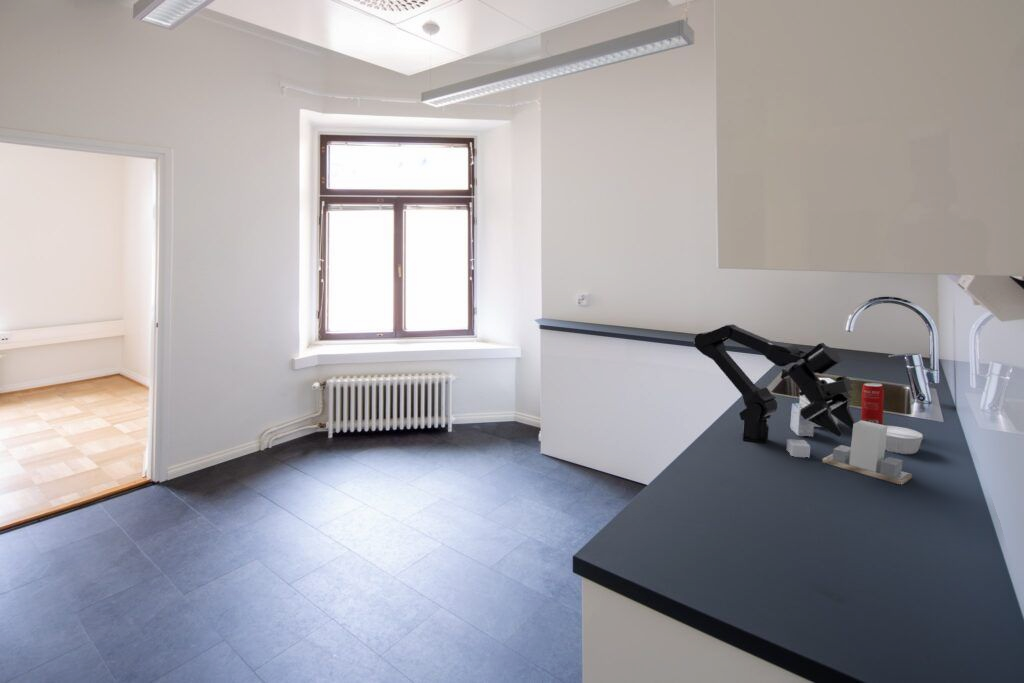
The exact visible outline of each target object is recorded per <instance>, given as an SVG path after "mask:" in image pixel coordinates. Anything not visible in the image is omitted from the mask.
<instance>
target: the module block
mask: <svg viewBox="0 0 1024 683" xmlns="http://www.w3.org/2000/svg"><path fill="white" fill-rule="evenodd" d="M888 426H889V425H886V424H885V425H884V424H883V425H881V424H876V423H871V422H867V421H862V420H861V419H860V420H859V421H857V422H855V423H854V424H853V429H852V434H851V435H852V436H851V442H850V444H851V445H850V447H851V451H850V461H849V464H850V465H854V466H857V467H861V468H865V469H868V470H872V471H875V472H876V471H877V470H879V469H880V468H881V461H883V460H884V458H885V453H886V450H885V444H886V436H887V427H888Z"/></svg>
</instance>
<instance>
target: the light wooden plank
mask: <svg viewBox="0 0 1024 683" xmlns="http://www.w3.org/2000/svg"><path fill="white" fill-rule="evenodd" d="M830 455H831V454H830ZM828 456H829V455H828ZM826 457H827V456H826ZM826 459H827V460H831V461H835V462H838V463H842V464H845V465H849V466H852V467H856V468H860V469H863V470H867V471H870V472H874V473H877V474H881V475H885V476H888V477H892V478H895V479H899V480H901V479H903V478H904V477H905V476H907V475H908V474H909V472H906V471H903V470H901V472H900V473H899V474H897V475H896V476H894V477H893V476H890V475H886V474H883V473H880V469H881V468H880V469H879V470H877V471H876V472H875V471H872V470H868V469H865V468H861V467H857V466H854V465H850V464H849V461H850V460H849V461H847V462H846V463H843V462H840V461H836V460H832V459H833V455H831V456H829V457H827V458H826Z"/></svg>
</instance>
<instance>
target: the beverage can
mask: <svg viewBox="0 0 1024 683" xmlns="http://www.w3.org/2000/svg"><path fill="white" fill-rule="evenodd" d="M861 389H862V390H861V412H860V414H861V415H860V417H861V418H860V421H861V420H862V421H867V422H871V423H876V424H881V425H884V423H883V422H884V397H885V396H884V392H885V389H884V386H883V384H882V383H880V382H879V383H877V382H864V383H863V385H862V387H861Z"/></svg>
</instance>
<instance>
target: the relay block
mask: <svg viewBox="0 0 1024 683" xmlns="http://www.w3.org/2000/svg"><path fill="white" fill-rule="evenodd" d="M787 451H788V452H789V453H790V454H789V453H788V452H787ZM786 452H787V453H788V454H789V455H790V456H791V457H792V456H794V457H795V458H805V457H808V458H809V459H810V454H811V445H810V444H809V443H808V442H807V441H806V440H804V439H792V438H791V439H790V438H788V439H787V438H786ZM794 457H793V458H794ZM808 458H807V459H808Z"/></svg>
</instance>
